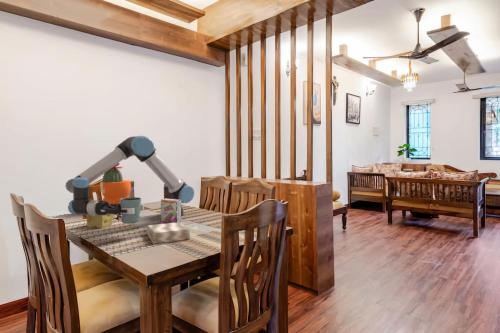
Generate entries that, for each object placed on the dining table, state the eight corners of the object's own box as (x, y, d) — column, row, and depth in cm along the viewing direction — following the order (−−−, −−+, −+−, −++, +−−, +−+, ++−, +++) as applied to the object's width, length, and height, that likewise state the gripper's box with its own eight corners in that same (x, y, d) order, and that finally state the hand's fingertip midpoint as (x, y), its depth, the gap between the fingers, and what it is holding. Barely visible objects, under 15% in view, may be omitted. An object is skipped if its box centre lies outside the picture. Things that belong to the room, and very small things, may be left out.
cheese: (102, 228, 177) (101, 211, 176) (85, 227, 179) (85, 210, 179) (113, 224, 187) (113, 207, 187) (97, 223, 189) (97, 207, 189)
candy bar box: (160, 227, 181) (160, 199, 180) (165, 225, 186) (165, 198, 185) (176, 229, 177) (176, 200, 176) (181, 227, 182) (181, 199, 181)
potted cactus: (92, 213, 218) (92, 163, 216) (111, 207, 240) (111, 162, 238) (120, 214, 215) (120, 164, 213) (137, 208, 237) (137, 162, 235)
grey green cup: (116, 222, 158) (115, 199, 157) (130, 218, 167) (130, 196, 167) (131, 224, 154) (131, 200, 153) (145, 220, 164) (145, 197, 163)
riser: (180, 230, 174) (180, 221, 174) (189, 239, 158) (189, 229, 158) (147, 234, 166) (147, 225, 166) (153, 243, 150) (153, 233, 150)
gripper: (110, 210, 174) (148, 211, 171) (85, 219, 152) (127, 221, 149) (110, 197, 173) (148, 198, 170) (84, 204, 151) (127, 205, 148)
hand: (138, 209), depth 160 cm, fingers closed on grey green cup, 9 cm apart
